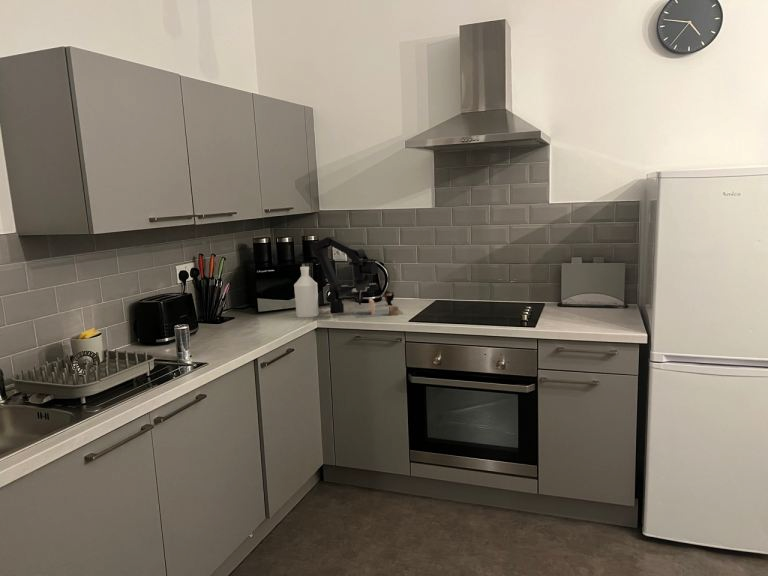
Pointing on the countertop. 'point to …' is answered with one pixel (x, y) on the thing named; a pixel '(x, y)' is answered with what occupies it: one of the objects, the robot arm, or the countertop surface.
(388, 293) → the figurine
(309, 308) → the bottle
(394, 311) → the cube
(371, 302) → the tile
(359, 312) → the mat
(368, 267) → the robot arm
